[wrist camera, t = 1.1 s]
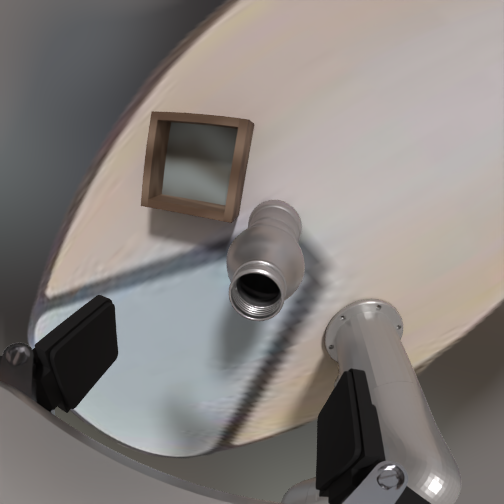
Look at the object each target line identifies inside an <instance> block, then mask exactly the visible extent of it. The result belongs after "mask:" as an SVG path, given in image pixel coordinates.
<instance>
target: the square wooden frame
mask: <svg viewBox="0 0 504 504" xmlns="http://www.w3.org/2000/svg"><path fill="white" fill-rule="evenodd" d="M253 129H254V123H252V122H251V121H250V120H247V119H240V118H232V117H224V116H214V115H204V114H191V113H175V112H152V114H151V120H150V126H149V133H148V140H147V148H146V156H145V165H144V174H143V185H142V198H141V206H145V207H151V208H156V209H162V210H167V211H172V212H178V213H183V214H188V215H194V216H199V217H204V218H209V219H214V220H219V221H224V222H230V223H232V222H233V221H234V220H235V218H236V217H237V216H238V215H239V211H240V205H241V199H242V193H243V187H244V181H245V175H246V169H247V163H248V157H249V152H250V146H251V140H252V135H253Z"/></svg>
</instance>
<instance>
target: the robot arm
mask: <svg viewBox="0 0 504 504" xmlns="http://www.w3.org/2000/svg"><path fill="white" fill-rule="evenodd" d="M377 305H378V306H377ZM402 334H403V322H402V318H401V316H400V314H399V312H398V311H397V310H396V308H395V307H393V306H392V305H391V304H389V303H387V302H385V301H382V300H378V299H366V300H361V301H357V302H354V303H352V304H350V305H348V306H346V307H344V308H343V309H342V310H340V311H339V312H338V313H337V314H336V315H335V316H334V317H333V318H332V320H331V321H330V323H329V325H328V327H327V330H326V333H325V344H326V348H327V351H328V353H329V355H330V356H331V357H332V358H333V359H334V360H335V361H336V362H338V363H339V373H340V374H339V375H338V377H337V379H336V381H335V383H334V387H335V388H334V390H333V392H332V393H331V395H330V397H329V398H328V400H327V402H326V403H325V405H324V407H323V408H322V410H321V412H320V413H319V416H318V421H317V423H318V424H317V425H318V426H317V427H318V428H317V466H316V477H314V478H311V479H308V480H304V481H302V482H300V483H298V484H296V485H294V486H293V487H291V488H290V489H289V490H288V491H287V492H286V493H285V495H284V497H283V499H282V502H281V503H278V502H271V501H265V500H260V499H254V498H249V497H244V496H239V495H235V494H231V493H227V492H223V491H219V490H215V489H211V488H208V487H204V486H201V485H198V484H194V483H191V482H188V481H185V480H182V479H179V478H177V477H174V476H171V475H168V474H165V473H163V472H160V471H158V470H155V469H153V468H151V467H148V466H146V465H143V464H141V463H139V462H137V461H134V460H132V459H130V458H128V457H126V456H124V455H122V454H120V453H118V452H116V451H114V450H112V449H110V448H108V447H106V446H104V445H102V444H100V443H98V442H97V441H95V440H93V439H92V438H90V437H88V436H86V435H85V434H83V433H81V432H80V431H78V430H76V429H75V428H73V427H72V426H70V425H69V424H67V423H65V422H64V421H62V420H61V419H59V418H58V417H56V416H55V413H54V409H55V408H56V407H57V406H58V407H59V408H60V409H62V410H64V411H65V412H66V413H68V412H69V410H70V409H74V408H75V407H76V406H77V405H78V404H79V403H80V402H81V400H82V399H83V398H84V397H85V396H86V394H87V393H88V392H89V391H90V390H91V388H92V387H93V386H94V385H95V384H96V382H97V381H98V380H99V379H100V378H101V376H102V375H103V374H104V373H105V372H106V371H107V369H108V368H109V367H110V366H111V365H112V364H113V362H114V361H115V360H116V359H117V356H118V346H117V334H116V320H115V306H114V304H112V301H111V300H110V299H108V298H106V297H104V296H101V295H98V296H96V297H95V298H93V299H92V300H91V301H89V302H88V303H87V304H85V305H84V306H83V307H81V308H80V309H79V310H78V311H76V312H75V313H74V314H72V315H71V316H70V317H69V318H67V319H66V320H65V321H63V322H62V323H61V324H60V325H58V326H57V327H56V328H55V329H53V330H52V331H51V332H50V333H48V334H47V335H46V336H45V337H44V338H42V339H41V340H40V341H39V342H38V343H36V344H35V348H34V349H33V350H32V348H31V347H30V346H29V345H27V344H25V343H14V344H11V345H9V346H8V347H7V348H6V349H5V350H4V352H3V354H2V356H0V504H454V502H455V501H456V499H457V498H458V496H459V493H460V490H461V475H460V471H459V468H458V465H457V463H456V461H455V459H454V457H453V455H452V453H451V451H450V449H449V448H448V446H447V444H446V443H445V440H444V439H443V437H442V435H441V433H440V431H439V429H438V427H437V425H436V423H435V421H434V418H433V416H432V414H431V411H430V408H429V406H428V404H427V401H426V398H425V396H424V393H423V391H422V389H421V387H420V384H419V381H418V379H417V377H416V374H415V372H414V369H413V367H412V365H411V362H410V360H409V358H408V355H407V353H406V351H405V349H404V346H403V344H402V342H401V337H402Z"/></svg>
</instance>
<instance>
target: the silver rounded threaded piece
mask: <svg viewBox="0 0 504 504" xmlns="http://www.w3.org/2000/svg"><path fill="white" fill-rule="evenodd" d="M301 233H302V223H301V219H300V217H299V215H298V213H297V212H296V210H295V209H294V208H293V207H292V206H290V205H289V204H287V203H286V202H283V201H280V200H268V201H265V202H263V203H261V204H259V205H258V206H257V207H256V208H255V209H254V210H253V211H252V213H251V215H250V218H249V222H248V229H246V230H245V231H243V232H242V233H241V234H240V235H238V236H237V237H236V238H235V240H234V241H233V242H232V244H231V246H230V248H229V250H228V254H227V272H228V276H229V279H230V281H231V284H230V287H229V299H230V302H231V304H232V306H233V308H234V309H235V310H236V311H237V312H238V313H239V314H240V315H242V316H243V317H245V318H247V319H250V320H254V321H264V320H268V319H270V318H273V317H274V316H275V315H277V314H278V313H279V312H280V310H281V308H282V306H283V304H284V300H286V299H287V298H289V297H290V296H291V295H292V294H293V293H294V292H295V291H296V290H297V288H298V287H299V285H300V283H301V282H302V279H303V276H304V270H305V264H304V258H303V254H302V251H301V248H300V246H299V244H298V242H299V239H300V237H301Z"/></svg>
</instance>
